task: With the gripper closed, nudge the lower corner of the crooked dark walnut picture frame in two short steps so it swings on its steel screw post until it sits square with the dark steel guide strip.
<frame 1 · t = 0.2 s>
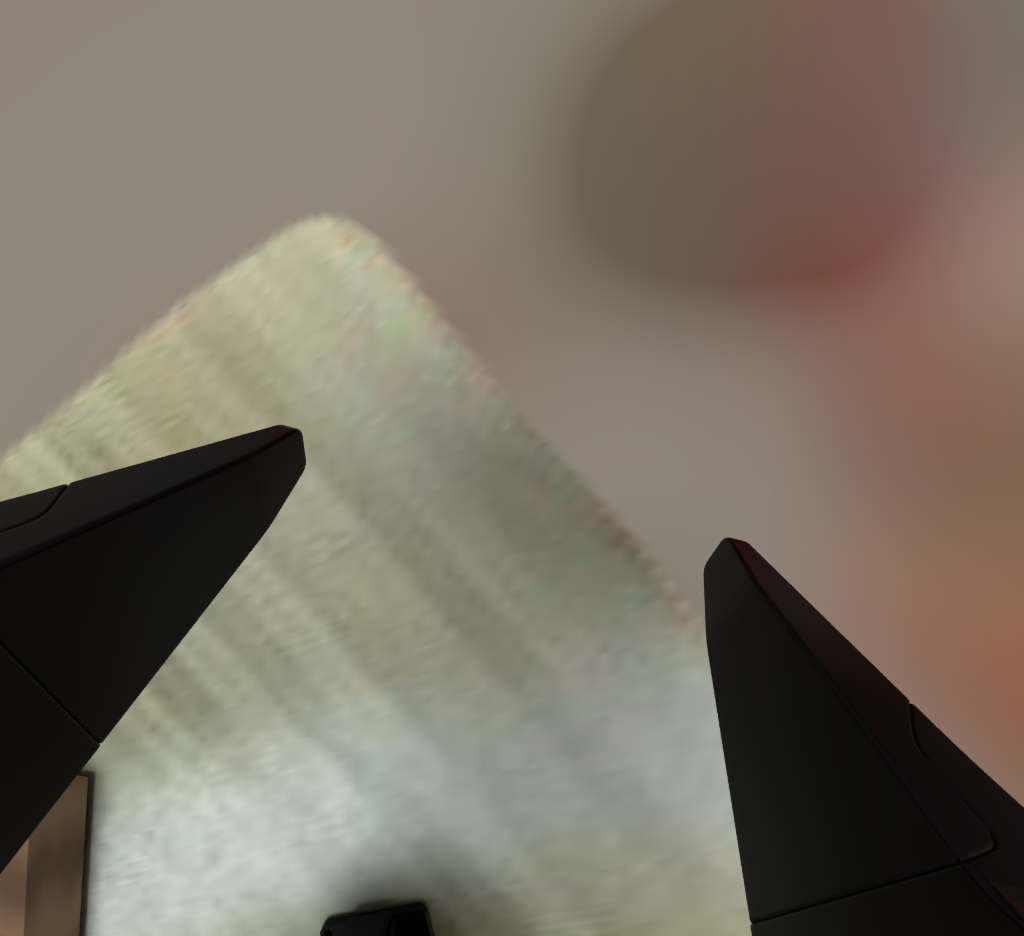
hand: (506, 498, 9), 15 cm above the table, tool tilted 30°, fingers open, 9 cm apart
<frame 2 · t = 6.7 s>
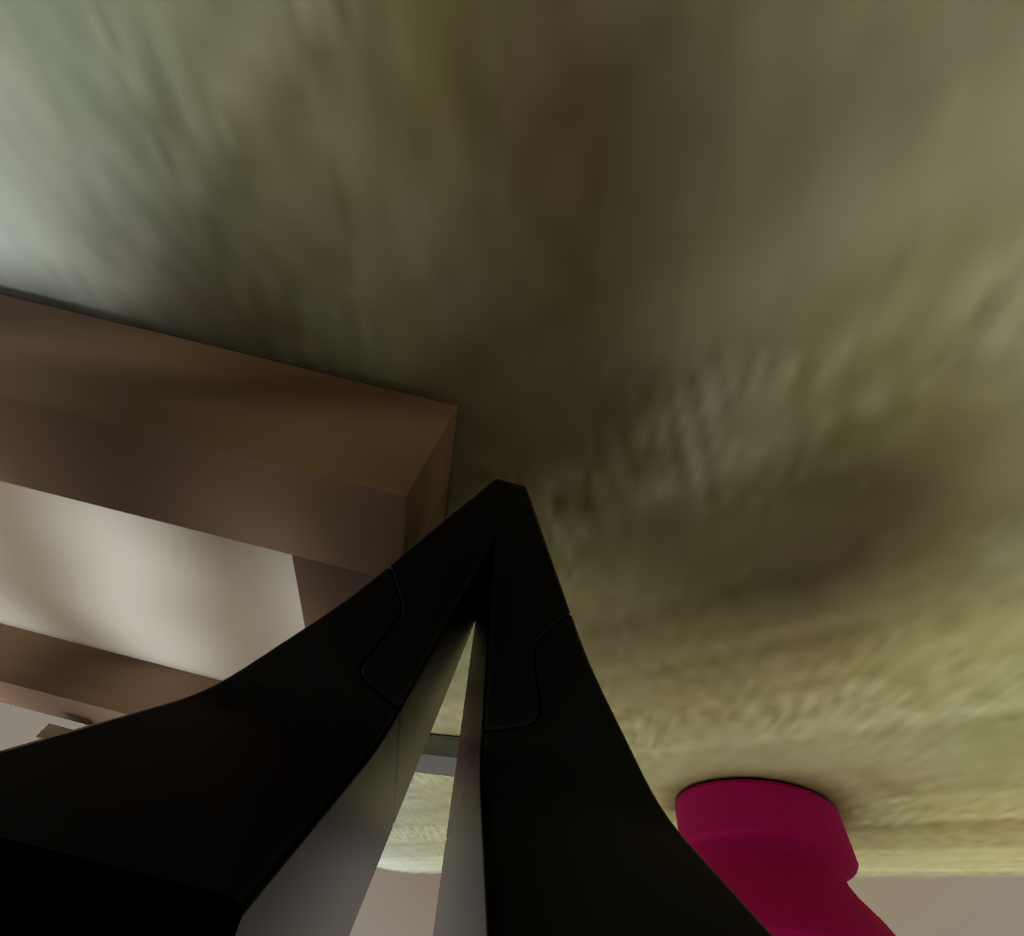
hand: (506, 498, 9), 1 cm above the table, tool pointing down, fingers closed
guide strip: (295, 729, 21), on the table
picture frame: (40, 597, 12), point 2 cm above the table, hinge at -19.7°, touching gripper
pepper mill: (750, 803, 18), on the table
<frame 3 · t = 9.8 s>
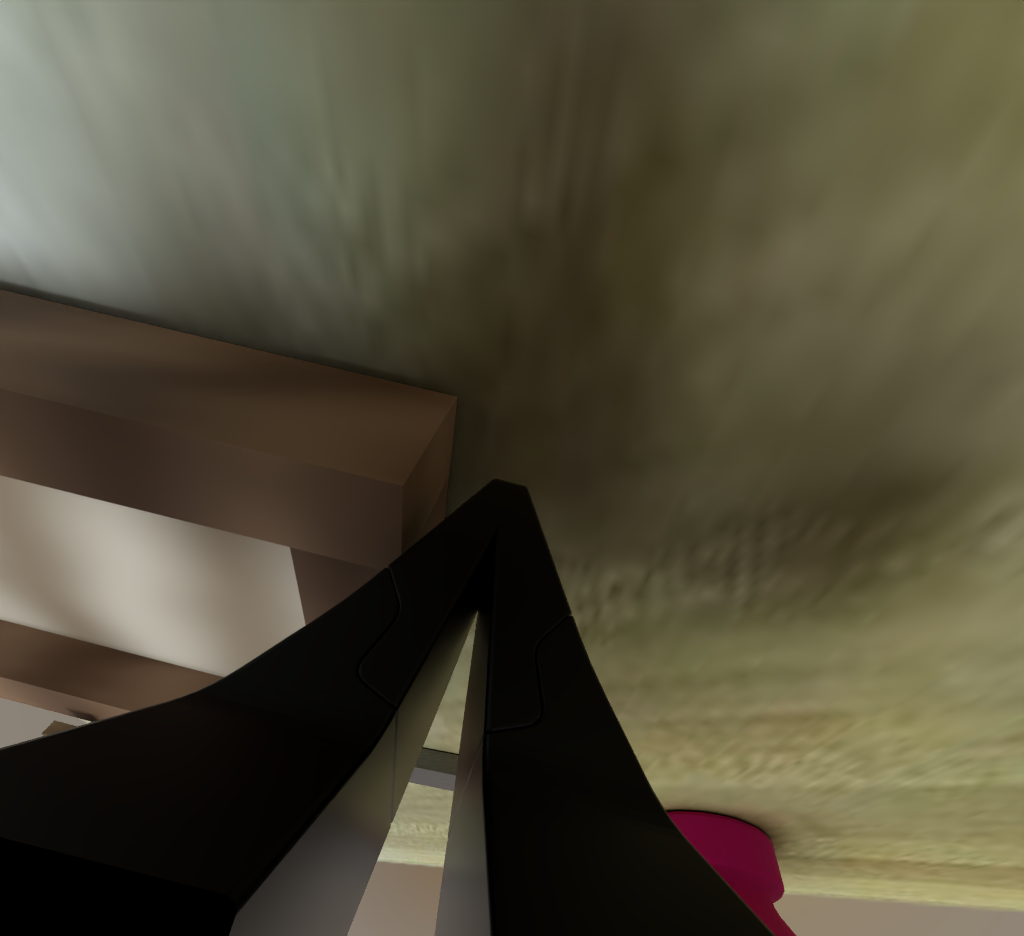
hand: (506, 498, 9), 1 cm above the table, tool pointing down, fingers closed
guide strip: (284, 729, 21), on the table
picture frame: (43, 594, 12), point 2 cm above the table, hinge at -9.0°, touching gripper
pepper mill: (698, 830, 21), on the table
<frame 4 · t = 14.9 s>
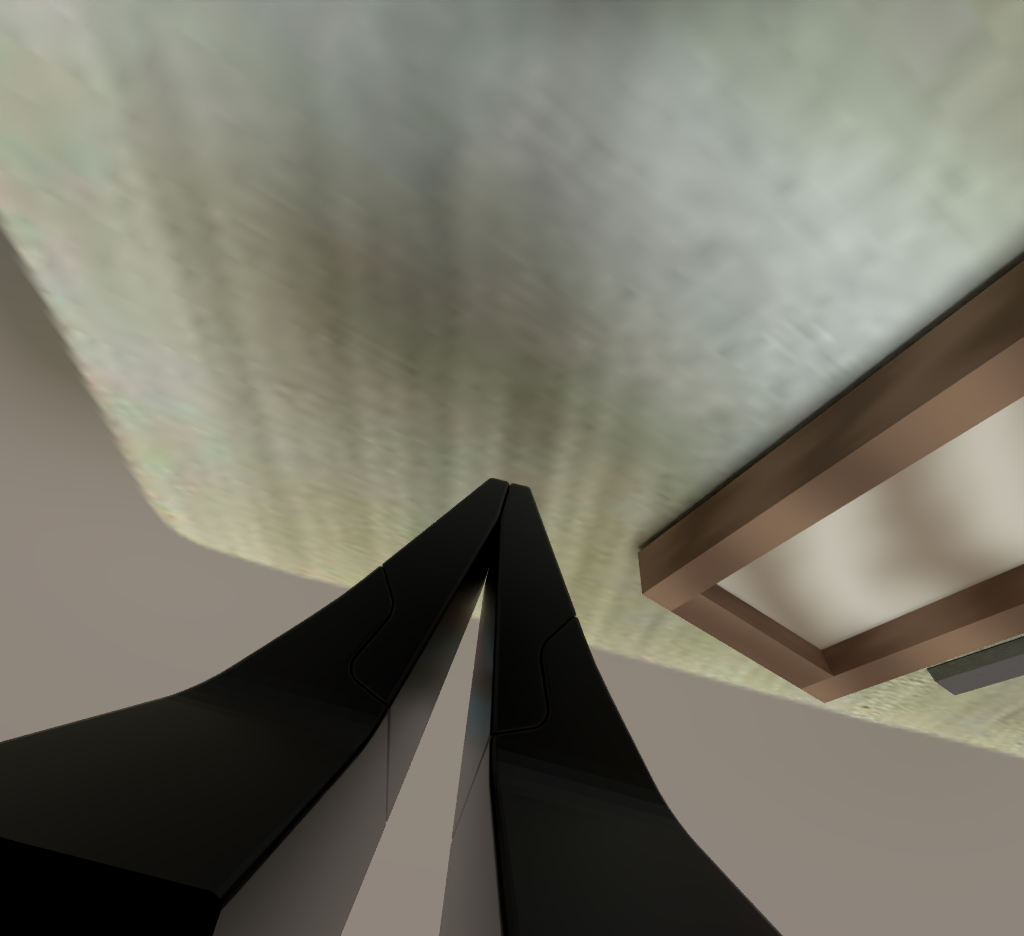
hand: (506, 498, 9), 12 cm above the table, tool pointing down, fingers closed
picture frame: (959, 542, 19), point 2 cm above the table, hinge at 1.3°
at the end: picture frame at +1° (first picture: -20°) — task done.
